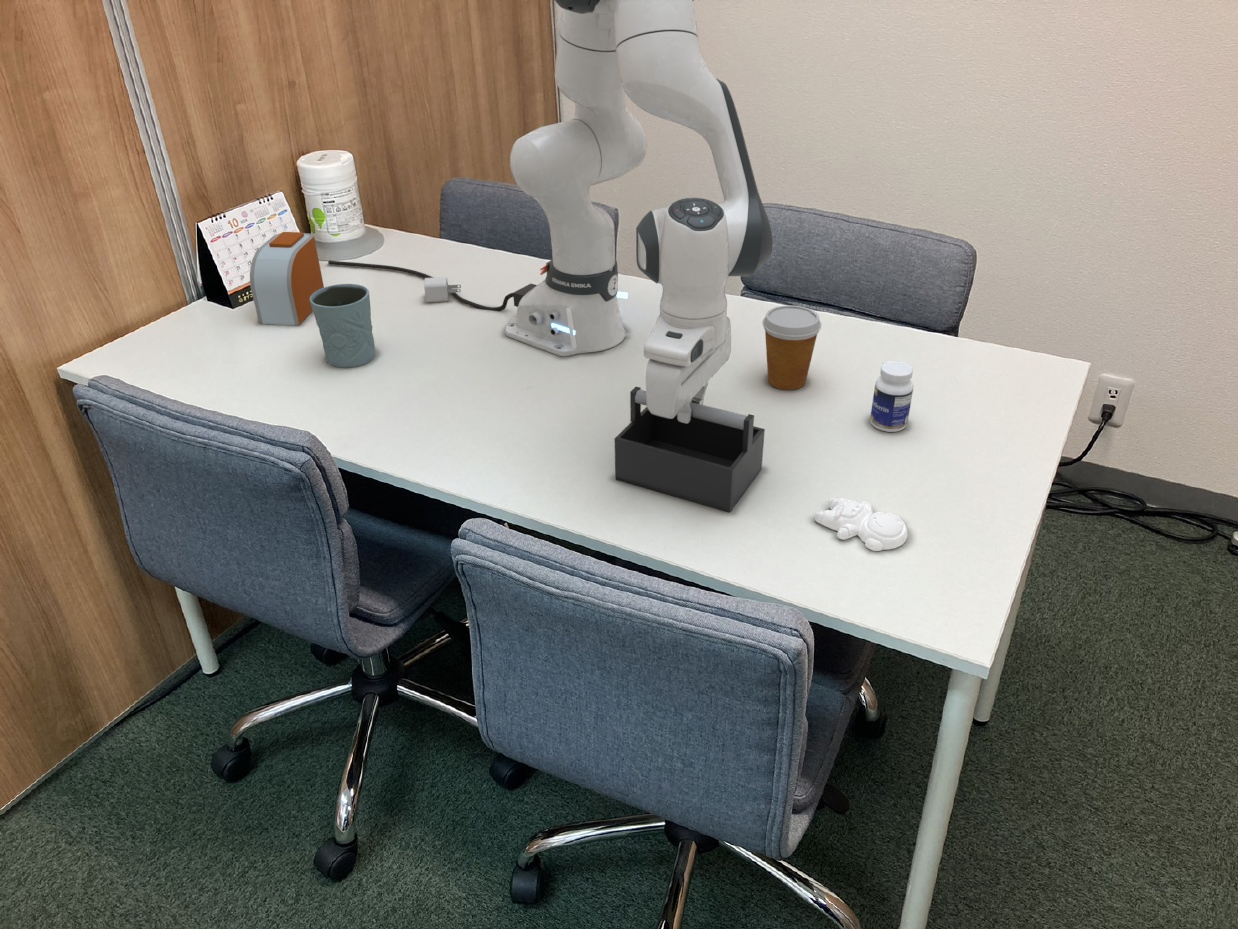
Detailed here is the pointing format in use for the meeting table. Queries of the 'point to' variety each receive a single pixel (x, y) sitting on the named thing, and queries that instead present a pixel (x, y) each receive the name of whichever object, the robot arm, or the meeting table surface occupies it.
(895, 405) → the pill bottle
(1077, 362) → the meeting table surface
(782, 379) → the disposable coffee cup
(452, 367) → the meeting table surface
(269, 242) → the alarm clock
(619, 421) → the meeting table surface
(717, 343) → the robot arm
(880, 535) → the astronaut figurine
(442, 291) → the usb wall charger
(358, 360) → the green embossed cup
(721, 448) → the black bin
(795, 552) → the meeting table surface
